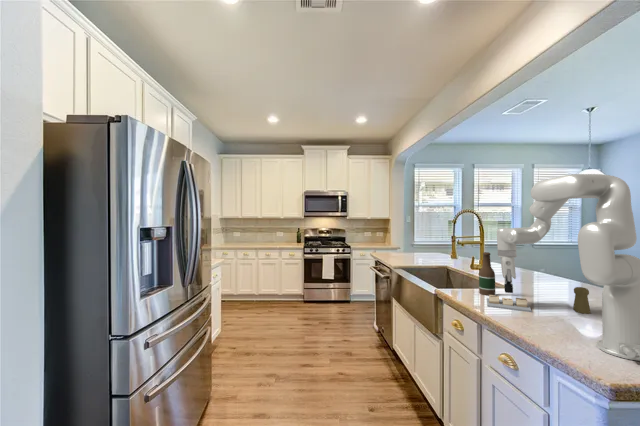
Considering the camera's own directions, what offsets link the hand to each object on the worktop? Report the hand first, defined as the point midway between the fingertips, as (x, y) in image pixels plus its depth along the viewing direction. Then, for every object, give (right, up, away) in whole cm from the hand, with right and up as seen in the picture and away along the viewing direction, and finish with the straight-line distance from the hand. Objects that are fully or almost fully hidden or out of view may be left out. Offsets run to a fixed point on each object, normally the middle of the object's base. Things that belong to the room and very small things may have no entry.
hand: (508, 292), depth 135 cm
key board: (0, -8, +1) cm, 8 cm away
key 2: (0, -7, +1) cm, 7 cm away
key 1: (+5, -6, -2) cm, 8 cm away
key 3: (-5, -7, +4) cm, 9 cm away
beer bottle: (+2, -8, +20) cm, 22 cm away
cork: (+30, -8, -5) cm, 31 cm away
